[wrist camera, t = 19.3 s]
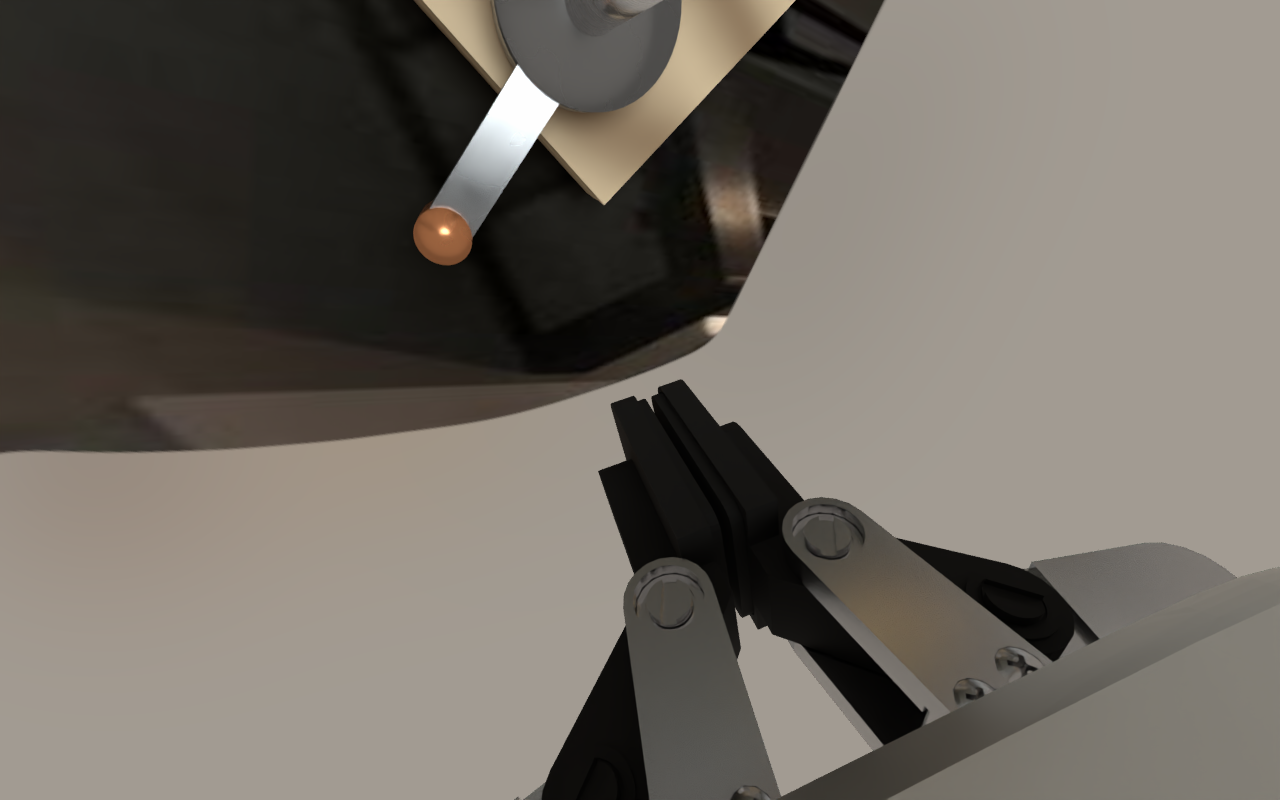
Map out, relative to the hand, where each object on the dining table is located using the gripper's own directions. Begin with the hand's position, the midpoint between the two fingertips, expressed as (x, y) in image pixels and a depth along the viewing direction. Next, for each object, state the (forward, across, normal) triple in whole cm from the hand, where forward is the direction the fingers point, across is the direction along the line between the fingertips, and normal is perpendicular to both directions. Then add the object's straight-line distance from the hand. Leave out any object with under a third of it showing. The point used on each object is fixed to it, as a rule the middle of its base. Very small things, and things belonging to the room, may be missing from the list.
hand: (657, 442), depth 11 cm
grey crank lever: (+20, -1, -7) cm, 21 cm away
